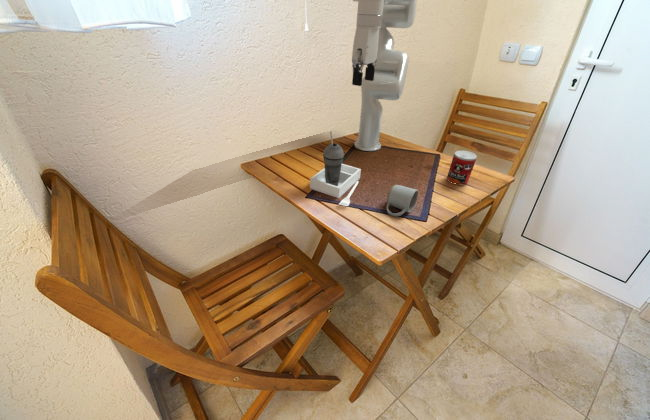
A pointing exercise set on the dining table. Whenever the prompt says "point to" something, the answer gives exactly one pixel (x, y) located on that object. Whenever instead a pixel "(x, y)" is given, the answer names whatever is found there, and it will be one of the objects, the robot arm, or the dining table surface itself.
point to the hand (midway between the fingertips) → (363, 82)
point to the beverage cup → (333, 162)
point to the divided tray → (346, 180)
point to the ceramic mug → (401, 199)
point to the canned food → (461, 167)
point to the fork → (346, 199)
